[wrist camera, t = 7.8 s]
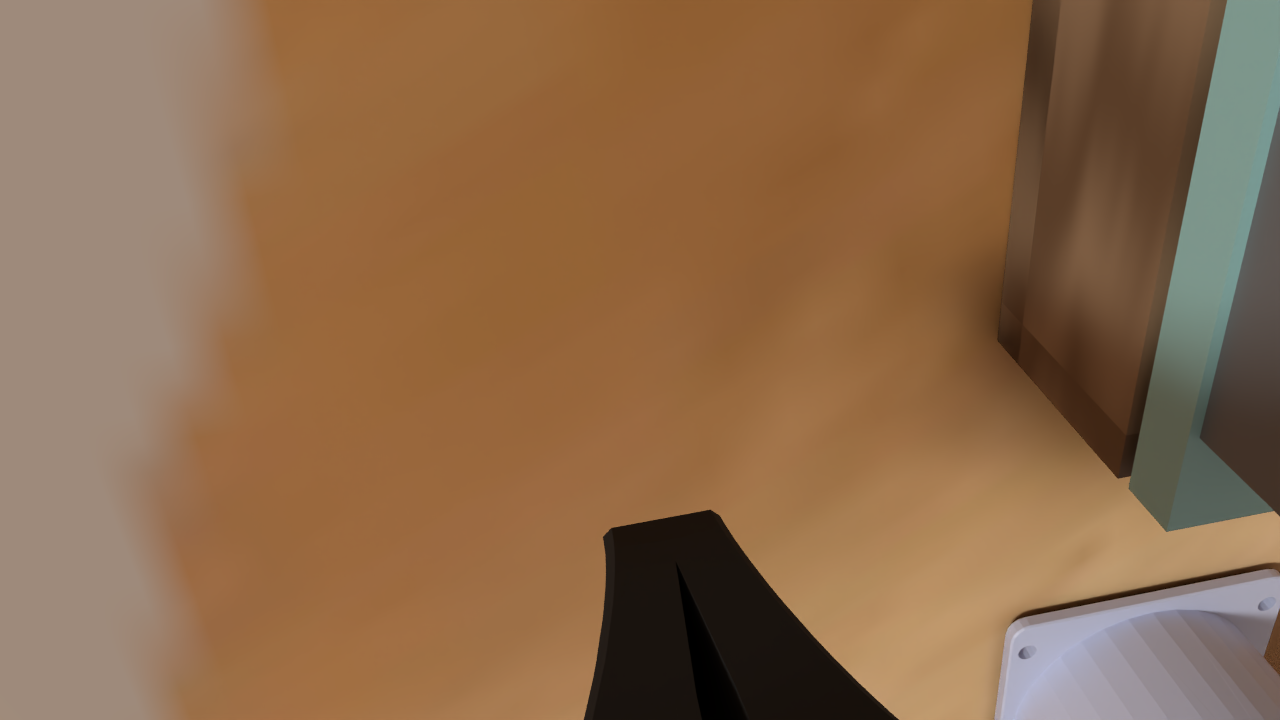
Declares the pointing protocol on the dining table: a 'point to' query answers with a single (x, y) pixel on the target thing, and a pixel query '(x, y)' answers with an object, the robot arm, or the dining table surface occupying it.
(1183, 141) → the crate
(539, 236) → the dining table surface
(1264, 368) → the lid
